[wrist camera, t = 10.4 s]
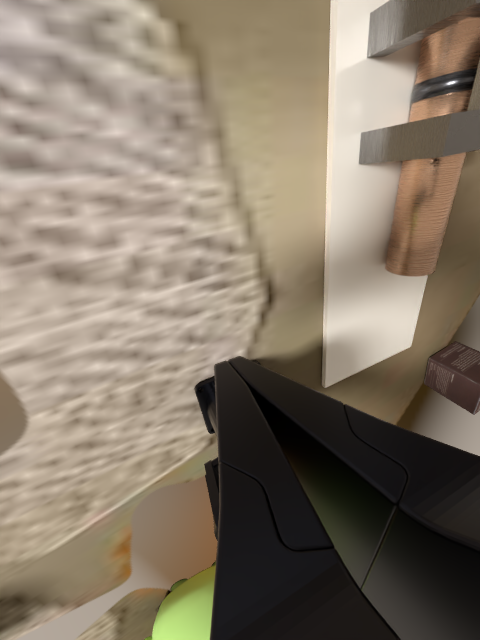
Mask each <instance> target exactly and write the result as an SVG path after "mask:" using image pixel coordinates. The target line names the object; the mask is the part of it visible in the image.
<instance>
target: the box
mask: <svg viewBox="0 0 480 640" xmlns="http://www.w3.org/2000/svg"><path fill="white" fill-rule="evenodd" d="M424 384H425V385H427V386H428V387H430V388H432V389H433V390H435V391H437V392H438V393H440V394H441V395H443V396H444V397H446V398H447V399H449V400H451V401H452V402H454V403H456V404H457V405H459V406H461V407H462V408H464V409H466V410H467V411H469V412H470V413H472V414H473V415H475V414H476V413H477V412H478V411H479V410H480V352H479V351H477V350H475V349H472V348H470V347H467V346H465V345H463V344H460V343H458V342H454V343H452V344H451V345H449V346H447V347H446V348H444V349H443V350H441V351H440V352H438V353H436V354H435V355H433V356H432V357H430V358H429V360H428V365H427V371H426V376H425V380H424Z"/></svg>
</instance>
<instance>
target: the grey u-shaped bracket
mask: <svg viewBox="0 0 480 640" xmlns="http://www.w3.org/2000/svg"><path fill="white" fill-rule="evenodd" d="M468 17H476V18H480V0H389V1H388V2H386V3H385V4H383V5H382V6H380V7H379V8H377V9H376V10H374V11H373V12H371V13H370V22H369V35H368V48H367V58H373V57H385V56H387V55H389V54H391V53H394V52H396V51H398V50H400V49H402V48H404V47H406V46H408V45H410V44H413V43H415V42H417V41H419V40H421V39H423V38H425V37H427V36H429V35H432V34H434V33H436V32H438V31H440V30H442V29H444V28H446V27H449V26H451V25H453V24H455V23H457V22H459V21H461V20H463V19H465V18H468ZM479 149H480V60H479V64H478V68H477V72H476V77H475V81H474V85H473V89H472V93H471V97H470V102H469V106H468V110H467V111H465V112H458V113H451V114H446V115H442V116H437V117H432V118H428V119H423V120H418V121H414V122H409V123H404V124H399V125H395V126H390V127H385V128H381V129H376V130H371V131H367V132H362V133H361V139H360V152H359V164H369V163H381V162H392V161H404V160H415V159H427V158H438V157H445V156H450V155H455V154H460V153H465V152H469V151H474V150H479Z"/></svg>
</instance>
